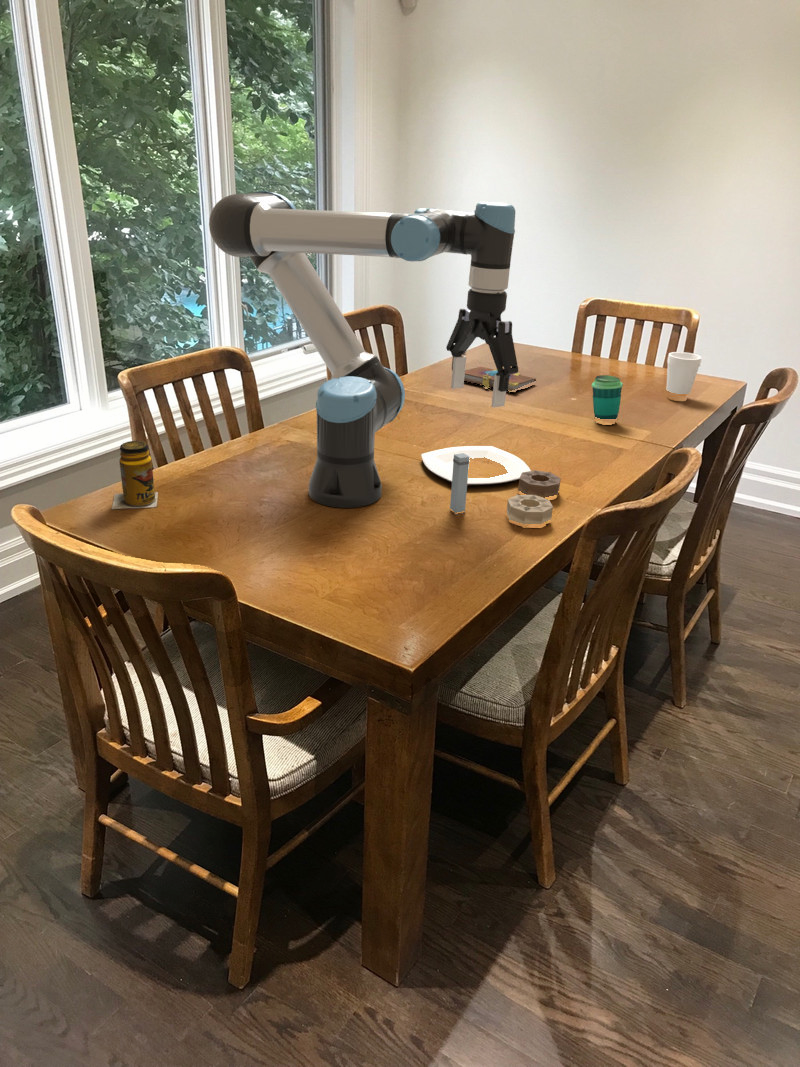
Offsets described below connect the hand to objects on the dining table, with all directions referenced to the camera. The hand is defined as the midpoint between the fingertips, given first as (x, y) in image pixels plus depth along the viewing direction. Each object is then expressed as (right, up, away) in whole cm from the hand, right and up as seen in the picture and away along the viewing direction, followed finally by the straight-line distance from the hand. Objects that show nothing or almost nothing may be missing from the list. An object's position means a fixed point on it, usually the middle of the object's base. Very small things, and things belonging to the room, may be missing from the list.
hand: (476, 396), depth 167 cm
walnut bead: (+14, -19, +9) cm, 25 cm away
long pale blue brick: (-4, -23, -1) cm, 24 cm away
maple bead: (+10, -25, -3) cm, 27 cm away
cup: (+39, +2, +56) cm, 69 cm away
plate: (+1, -14, +20) cm, 24 cm away
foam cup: (+67, +13, +80) cm, 105 cm away
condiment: (-68, -22, -3) cm, 72 cm away
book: (+12, +18, +88) cm, 91 cm away
